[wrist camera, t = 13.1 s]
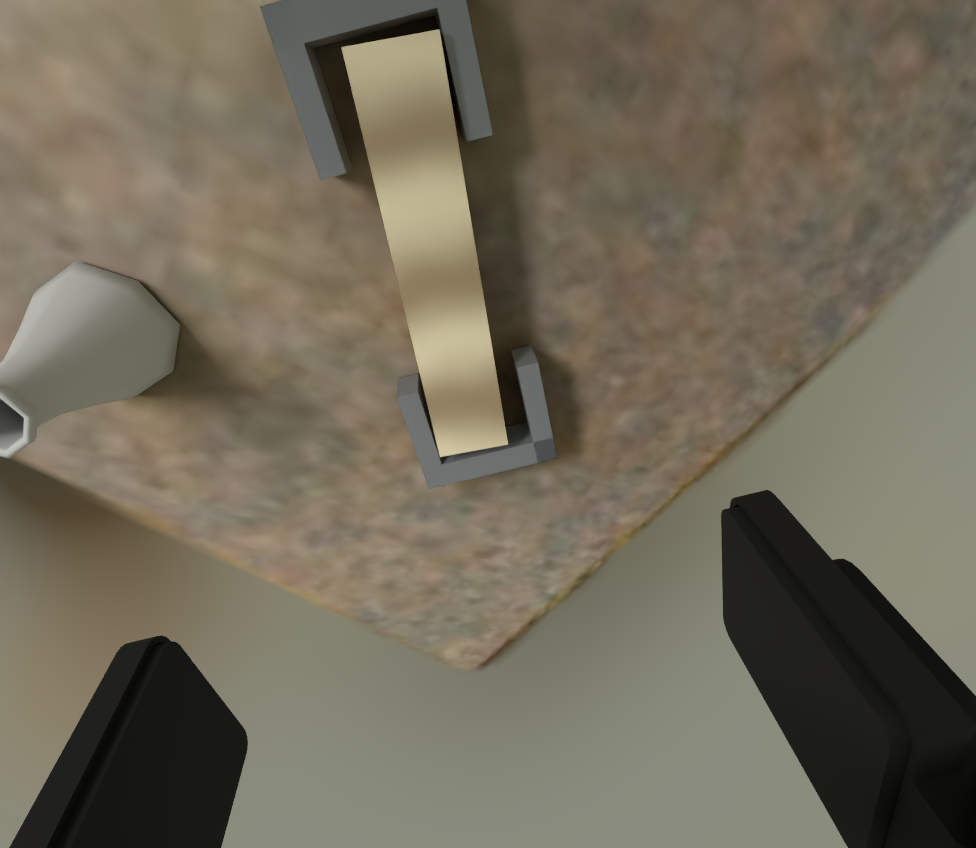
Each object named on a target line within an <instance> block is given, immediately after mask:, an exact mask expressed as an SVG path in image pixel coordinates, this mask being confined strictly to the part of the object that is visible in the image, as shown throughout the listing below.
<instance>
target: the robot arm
mask: <svg viewBox="0 0 976 848" xmlns="http://www.w3.org/2000/svg"><path fill="white" fill-rule="evenodd" d="M721 527H722V577H723V579H722V580H723V619H724V624H725V627H726V630H727V633H728V635H729V637H730V639H731V641H732V643H733V644H734V647H735V648H736V650H737V652H738V654H739V655H740V657H741V659H742V661H743V663H744V664H745V666H746V668H747V670H748V671H749V673H750V675H751V677H752V678H753V680H754V682H755V683H756V686H757V687H758V689H759V691H760V693H761V694H762V696H763V698H764V700H765V701H766V703H767V705H768V707H769V709H770V710H771V712H772V714H773V716H774V717H775V719H776V721H777V723H778V724H779V726H780V728H781V730H782V732H783V733H784V735H785V737H786V739H787V740H788V742H789V744H790V746H791V748H792V749H793V751H794V753H795V755H796V756H797V758H798V760H799V762H800V763H801V765H802V767H803V768H804V771H805V772H806V774H807V776H808V778H809V779H810V781H811V783H812V785H813V787H814V788H815V790H816V792H817V794H818V795H819V797H820V799H821V801H822V802H823V804H824V806H825V808H826V810H827V811H828V813H829V815H830V817H831V818H832V820H833V822H834V824H835V826H836V827H837V829H838V831H839V833H840V834H841V836H842V838H843V840H844V842H845V843H846V845H847V846H848V848H976V696H975V695H974V694H973V693H972V692H971V690H970V689H969V688H968V687H967V686H966V685H965V684H964V683H963V682H962V681H961V680H960V678H959V677H958V676H957V675H956V674H955V673H954V672H953V671H952V670H951V669H950V668H949V666H948V665H947V664H946V663H945V662H944V661H943V660H942V659H941V658H940V657H939V656H938V655H937V653H936V652H935V651H934V650H933V649H932V648H931V647H930V646H929V645H928V644H927V643H926V641H925V640H923V638H922V637H921V636H920V635H919V634H918V633H917V632H916V631H915V629H914V628H913V627H912V626H911V625H910V624H909V623H908V622H907V621H906V620H905V619H904V618H903V616H902V615H901V614H900V613H899V612H898V611H897V610H896V609H895V608H894V607H893V606H892V605H891V603H889V601H888V600H887V599H886V598H885V597H884V596H883V595H882V594H881V592H880V591H879V590H878V589H877V588H876V587H875V586H874V585H873V584H872V583H871V582H870V581H869V580H868V578H867V577H866V576H865V575H864V574H863V573H862V572H861V571H860V570H859V569H858V568H857V567H856V566H855V565H853V564H852V563H851V562H849V561H847V560H845V559H835V560H832V559H831V558H830V557H829V556H828V555H827V554H826V552H825V551H824V550H823V549H822V548H821V547H820V546H819V545H818V544H817V542H816V541H815V540H814V539H813V538H812V537H811V535H810V534H809V533H808V532H807V531H806V530H805V529H804V527H803V526H802V525H801V524H800V523H799V522H798V521H797V519H796V518H795V517H794V516H793V515H792V514H791V513H790V512H789V510H788V509H787V508H786V507H785V506H784V505H783V504H782V502H781V501H780V500H779V499H778V498H777V497H776V496H775V495H774V494H773V493H772V492H771V491H768V490H765V491H761V492H757V493H753V494H748V495H744V496H740V497H736V498H733V499H732V501H731V504H730V508H729V509H725V510H723V511H722V514H721ZM247 745H248V741H247V735H246V732H245V730H244V728H243V727H242V725H241V724H240V723H239V721H238V720H237V719H236V717H235V716H234V715H233V714H232V712H231V711H230V710H229V708H228V707H227V706H226V705H225V703H224V702H223V701H222V699H221V698H220V697H219V695H218V694H217V693H216V692H215V690H214V689H213V688H212V686H211V685H210V684H209V682H208V681H207V680H206V678H205V677H204V676H203V675H202V673H201V672H200V671H199V669H198V668H197V667H196V666H195V664H194V663H193V662H192V660H191V659H190V658H189V656H188V655H187V654H186V652H185V651H184V650H183V649H182V647H181V646H180V645H179V644H178V643H176V642H171V641H170V640H169V639H168V638H167V637H164V636H156V637H152V638H148V639H144V640H139V641H135V642H131V643H127V644H125V645H124V646H122V647H121V648H120V649H119V651H118V652H117V653H116V655H115V657H114V659H113V660H112V662H111V664H110V666H109V668H108V670H107V672H106V674H105V675H104V677H103V679H102V681H101V682H100V684H99V686H98V688H97V690H96V692H95V693H94V695H93V697H92V699H91V701H90V702H89V704H88V706H87V708H86V710H85V711H84V713H83V715H82V717H81V719H80V720H79V722H78V724H77V726H76V728H75V730H74V732H73V733H72V735H71V737H70V739H69V740H68V742H67V744H66V746H65V748H64V750H63V751H62V753H61V755H60V757H59V759H58V760H57V762H56V764H55V766H54V768H53V769H52V771H51V773H50V775H49V777H48V779H47V780H46V782H45V784H44V786H43V788H42V789H41V791H40V793H39V795H38V797H37V799H36V801H35V802H34V804H33V806H32V808H31V809H30V811H29V813H28V815H27V817H26V819H25V820H24V822H23V824H22V826H21V828H20V830H19V831H18V833H17V835H16V837H15V839H14V840H13V842H12V844H11V846H10V848H221V845H222V842H223V838H224V835H225V831H226V827H227V824H228V820H229V816H230V812H231V809H232V805H233V801H234V798H235V794H236V790H237V786H238V783H239V779H240V775H241V772H242V768H243V764H244V760H245V756H246V753H247Z"/></svg>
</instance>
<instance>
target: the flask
mask: <svg viewBox="0 0 976 848" xmlns="http://www.w3.org/2000/svg"><path fill="white" fill-rule="evenodd" d="M179 331H180V324H179V323H178V322H177V321H176V320H175V319H174V318H173V317H172V316H171V315H170V314H169V313H168V312H167V311H166V310H165V309H164V308H163V306H162V305H161V304H160V303H159V302H158V301H157V300H156V299H155V298H154V297H153V296H152V295H151V294H150V293H149V292H148V291H147V290H146V289H145V288H144V287H143V286H142V285H141V284H140V282H139V281H137V280H134V279H131V278H128V277H125V276H122V275H119V274H116V273H112V272H109V271H106V270H103V269H100V268H97V267H94V266H91V265H88V264H84V263H81V262H78V261H75V262H73V263H72V264H71V265H69V266H68V267H67V268H65V269H64V270H63V271H62V272H60V273H59V274H58V275H56V276H55V277H54V278H52V279H51V280H50V281H48V282H47V283H46V284H44V285H43V286H42V287H40V288H39V289H38V290H36V291H35V293H34V295H33V297H32V299H31V302H30V304H29V307H28V309H27V312H26V314H25V317H24V319H23V322H22V324H21V327H20V329H19V331H18V333H17V335H16V337H15V339H14V341H13V343H12V345H11V347H10V349H9V351H8V353H7V355H6V357H5V359H4V360H3V361H2V362H1V363H0V457H4V458H10V457H12V456H13V455H14V454H16V453H17V452H19V451H20V450H22V449H23V448H25V447H26V446H28V445H29V444H30V443H32V442H33V441H34V440H35V438H36V435H37V427H38V426H40V425H41V424H42V423H44V422H46V421H48V420H50V419H52V418H54V417H56V416H58V415H60V414H63V413H67V412H70V411H74V410H78V409H82V408H86V407H90V406H94V405H98V404H103V403H108V402H113V401H118V400H124V399H128V398H132V397H136V396H137V395H139V394H140V393H142V392H143V391H145V390H146V389H148V388H149V387H150V386H152V385H153V384H155V383H156V382H158V381H159V380H161V379H162V378H164V377H165V376H167V375H168V374H170V373H171V372H173V369H174V363H175V357H176V350H177V344H178V337H179Z"/></svg>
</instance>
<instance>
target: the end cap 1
mask: <svg viewBox="0 0 976 848" xmlns="http://www.w3.org/2000/svg"><path fill="white" fill-rule="evenodd" d="M260 8H261V11H262V14H263V17H264V19H265V22H266V25H267V28H268V31H269V34H270V37H271V39H272V42H273V45H274V48H275V51H276V54H277V57H278V59H279V62H280V65H281V68H282V71H283V74H284V77H285V79H286V82H287V85H288V88H289V91H290V94H291V97H292V99H293V102H294V105H295V108H296V111H297V114H298V117H299V119H300V122H301V125H302V128H303V131H304V134H305V137H306V139H307V142H308V145H309V148H310V151H311V154H312V157H313V160H314V162H315V165H316V168H317V171H318V174H319V177H320V180H323V179H326V178H330V177H334V176H338V175H342V174H346V173H347V172H348V171H349V170H350V169H351V168H352V165H351V161H350V158H349V155H348V152H347V149H346V146H345V143H344V140H343V136H342V133H341V130H340V127H339V124H338V121H337V118H336V115H335V111H334V108H333V105H332V102H331V99H330V96H329V93H328V90H327V86H326V83H325V80H324V77H323V74H322V71H321V68H320V65H319V61H318V58H317V55H316V52H315V49H314V48H316V47H319V46H323V45H327V44H331V43H334V42H338V41H342V40H346V39H349V38H353V37H357V36H360V35H364V34H368V33H372V32H375V31H379V30H383V29H387V28H390V27H394V26H398V25H401V24H405V23H409V22H413V21H416V20H420V19H424V18H428V17H431V16H435V15H436V16H437V21H438V25H439V29H440V34H441V39H442V43H443V48H444V52H445V57H446V61H447V66H448V70H449V75H450V79H451V84H452V88H453V93H454V97H455V102H456V106H457V111H458V115H459V120H460V124H461V129H462V133H463V138H464V139H465V140H466V141H467V142H468V141H472V140H476V139H480V138H484V137H487V136H491V135H493V133H492V128H491V122H490V117H489V112H488V107H487V102H486V97H485V92H484V87H483V82H482V77H481V72H480V67H479V62H478V57H477V52H476V47H475V42H474V37H473V32H472V27H471V22H470V17H469V12H468V7H467V2H466V0H282V1H279V2H275V3H271V4H268V5H264V6H260Z"/></svg>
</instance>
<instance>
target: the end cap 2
mask: <svg viewBox="0 0 976 848" xmlns="http://www.w3.org/2000/svg"><path fill="white" fill-rule="evenodd" d="M511 353H512V358H513V362H514V367H515V371H516V376H517V380H518V385H519V389H520V394H521V398H522V403H523V407H524V412H525V416H526V421H527V422H524V423H520V424H516V425H512V426H508V427H505V428H506V434H507V440H508V445H503V446H498V447H492V448H487V449H481V450H476V451H470V452H465V453H460V454H454V455H449V456H443V457H440V455H439V451H438V447H437V443H436V439H435V434H434V430H433V426H432V422H431V418H430V414H429V409H428V405H427V401H426V397H425V393H424V390H423V386H422V383H421V380H420V377H419V374H418V373H417V374H413V375H409V376H405V377H401V378H399V379H398V389H397V400H398V402H399V405H400V408H401V411H402V414H403V417H404V420H405V422H406V425H407V428H408V431H409V434H410V437H411V440H412V442H413V445H414V448H415V451H416V454H417V457H418V460H419V462H420V465H421V468H422V471H423V474H424V477H425V480H426V482H427V485H428V488H429V489H432V488H436V487H441V486H445V485H449V484H453V483H457V482H461V481H465V480H469V479H473V478H478V477H482V476H486V475H490V474H494V473H498V472H502V471H506V470H511V469H515V468H519V467H523V466H527V465H531V464H535V463H539V462H543V461H548V460H552V459H556V458H557V455H556V450H555V445H554V440H553V435H552V430H551V425H550V420H549V415H548V410H547V405H546V400H545V395H544V390H543V385H542V380H541V374H540V369H539V364H538V361H537V359H536V356H535V354H534V352H533V349H532V347H531V345H530V346H526V347H522V348H518V349H514V350H511Z"/></svg>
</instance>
